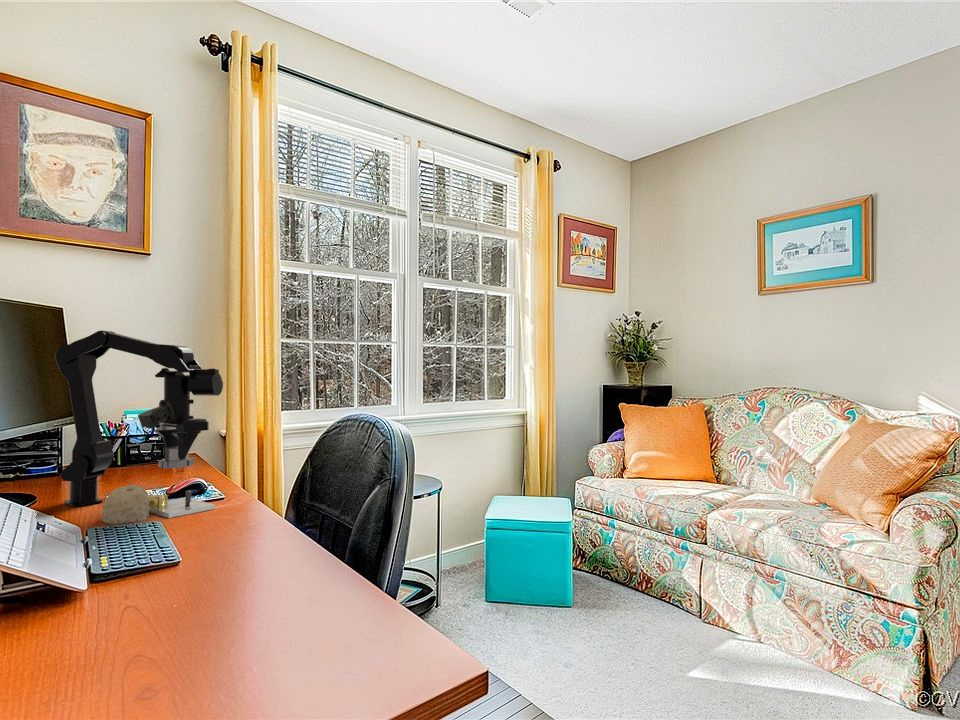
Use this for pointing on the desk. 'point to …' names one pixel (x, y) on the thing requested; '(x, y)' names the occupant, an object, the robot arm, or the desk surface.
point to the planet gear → (175, 459)
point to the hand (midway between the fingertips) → (176, 458)
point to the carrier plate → (177, 505)
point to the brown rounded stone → (126, 505)
